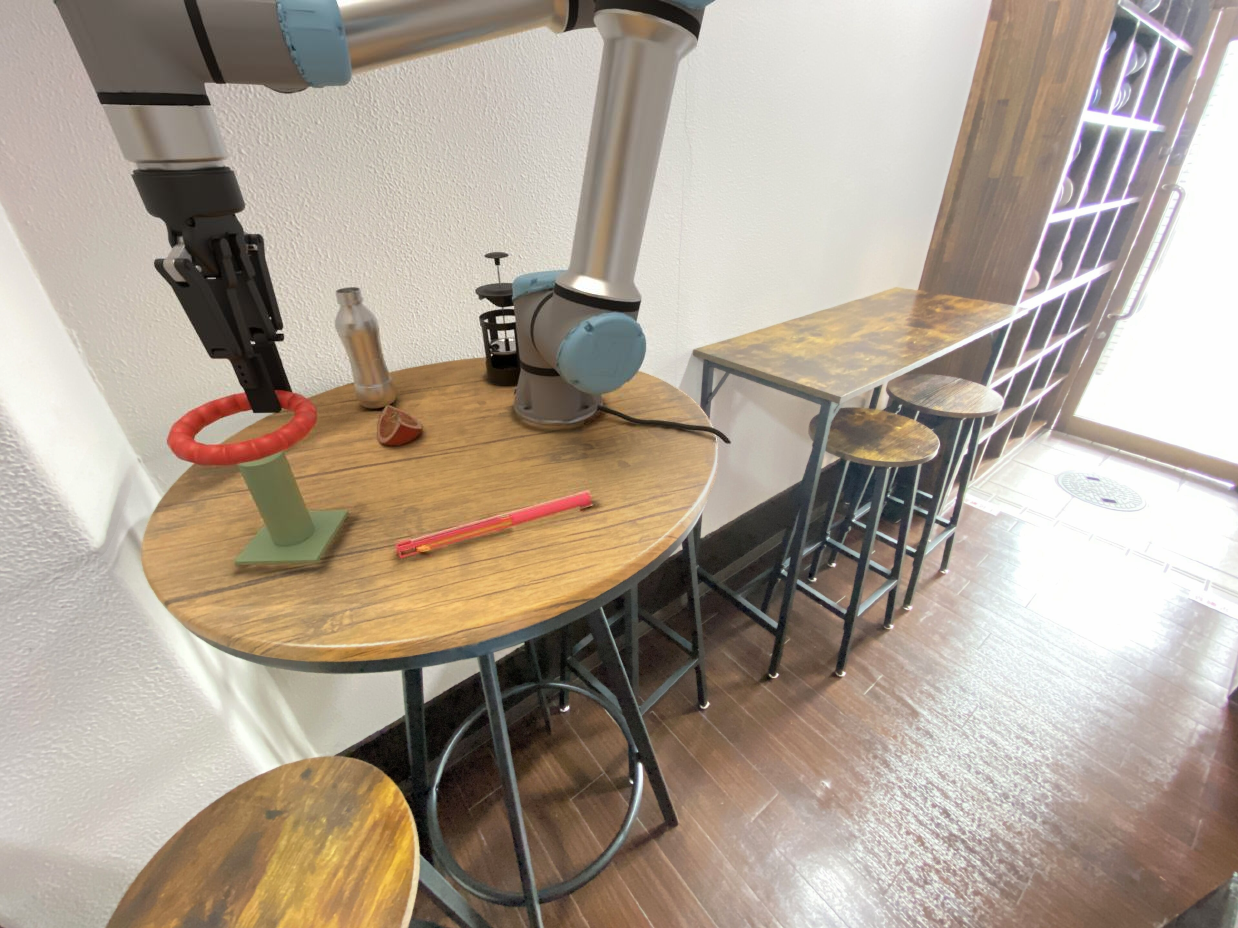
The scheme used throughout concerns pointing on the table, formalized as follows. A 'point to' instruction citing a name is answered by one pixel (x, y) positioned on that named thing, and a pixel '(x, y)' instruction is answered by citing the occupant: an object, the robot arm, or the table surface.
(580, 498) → the red ballpoint pen
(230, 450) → the ring
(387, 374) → the plastic bottle
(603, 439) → the table surface
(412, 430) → the fruit slice
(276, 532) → the post
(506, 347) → the french press
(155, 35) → the robot arm
